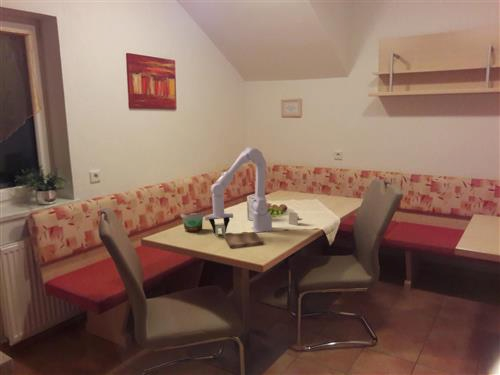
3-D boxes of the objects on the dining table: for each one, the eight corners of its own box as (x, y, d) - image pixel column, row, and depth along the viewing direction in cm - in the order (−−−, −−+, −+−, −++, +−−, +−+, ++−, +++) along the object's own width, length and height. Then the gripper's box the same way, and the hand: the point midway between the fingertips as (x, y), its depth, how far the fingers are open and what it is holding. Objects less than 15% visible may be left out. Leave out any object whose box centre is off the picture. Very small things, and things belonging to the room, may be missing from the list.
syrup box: (253, 217, 245) (252, 193, 242) (261, 219, 241) (260, 194, 238) (247, 220, 241) (246, 195, 238) (255, 221, 237) (254, 196, 234)
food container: (183, 234, 219) (182, 216, 217) (182, 231, 224) (180, 213, 222) (206, 231, 222) (205, 213, 220) (204, 228, 228) (203, 210, 226)
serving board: (254, 234, 214) (254, 231, 213) (263, 244, 198) (263, 241, 198) (224, 238, 210) (223, 235, 210) (230, 248, 195) (230, 245, 194)
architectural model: (292, 223, 232) (292, 210, 231) (302, 225, 228) (302, 212, 227) (288, 224, 230) (288, 211, 228) (299, 226, 226) (299, 213, 224)
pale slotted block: (223, 233, 218) (223, 222, 217) (225, 235, 214) (225, 225, 212) (214, 234, 217) (213, 223, 216) (216, 236, 212) (215, 226, 211)
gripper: (205, 210, 207) (207, 236, 210) (233, 207, 210) (235, 233, 213) (203, 206, 214) (205, 232, 216) (231, 204, 217) (232, 229, 220)
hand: (219, 232), depth 215 cm, fingers closed on pale slotted block, 5 cm apart
